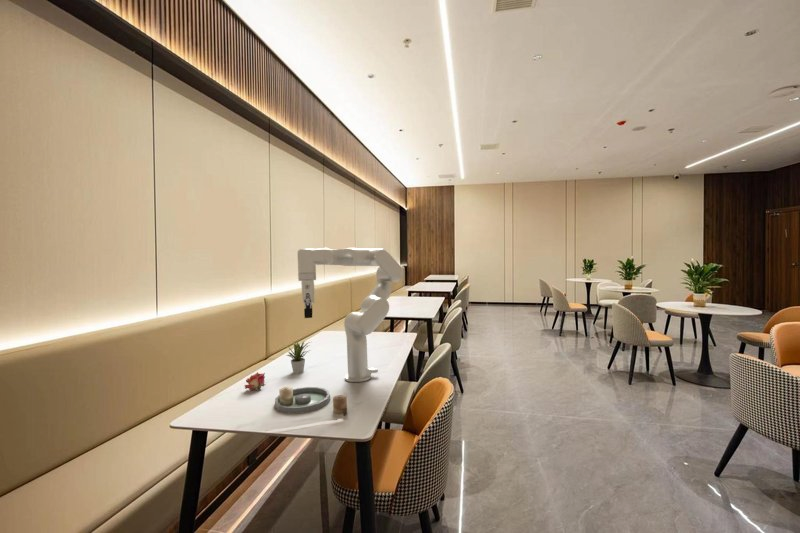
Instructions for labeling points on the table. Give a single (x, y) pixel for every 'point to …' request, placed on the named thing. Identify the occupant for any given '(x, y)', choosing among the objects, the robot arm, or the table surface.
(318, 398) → the groove tray
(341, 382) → the table surface
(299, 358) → the house plant
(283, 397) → the cream pillar candle
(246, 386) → the flower
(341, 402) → the walnut bead
